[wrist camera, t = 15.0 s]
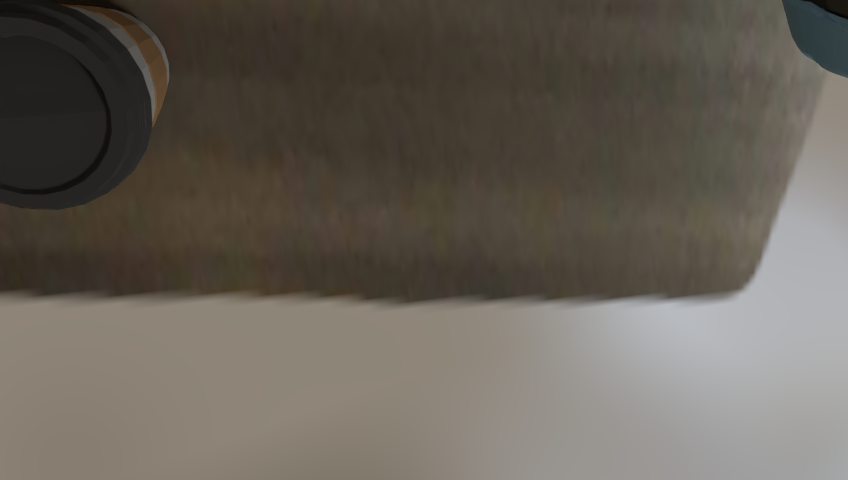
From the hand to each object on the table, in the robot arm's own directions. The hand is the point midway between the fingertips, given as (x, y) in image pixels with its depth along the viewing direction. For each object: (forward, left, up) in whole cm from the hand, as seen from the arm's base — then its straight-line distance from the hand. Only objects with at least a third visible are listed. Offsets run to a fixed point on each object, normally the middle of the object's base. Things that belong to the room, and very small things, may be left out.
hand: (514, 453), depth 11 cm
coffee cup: (+12, -5, -35) cm, 37 cm away
